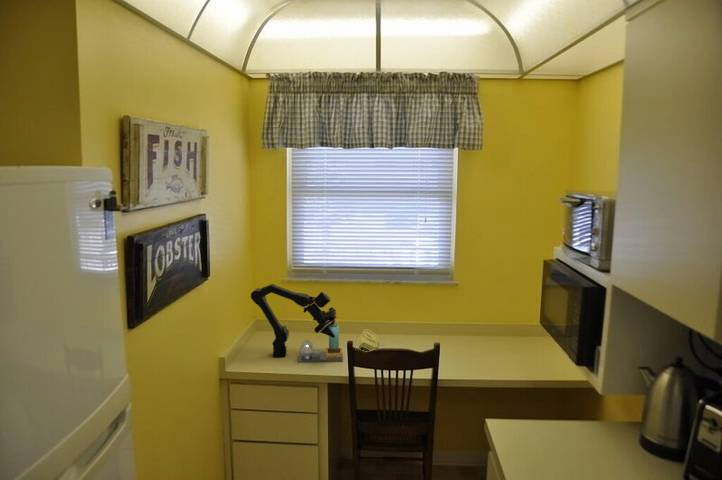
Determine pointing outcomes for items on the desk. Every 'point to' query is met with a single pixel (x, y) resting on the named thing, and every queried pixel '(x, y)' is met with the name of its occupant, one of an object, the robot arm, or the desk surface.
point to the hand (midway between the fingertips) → (336, 335)
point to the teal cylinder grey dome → (334, 341)
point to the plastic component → (368, 340)
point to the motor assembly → (318, 354)
